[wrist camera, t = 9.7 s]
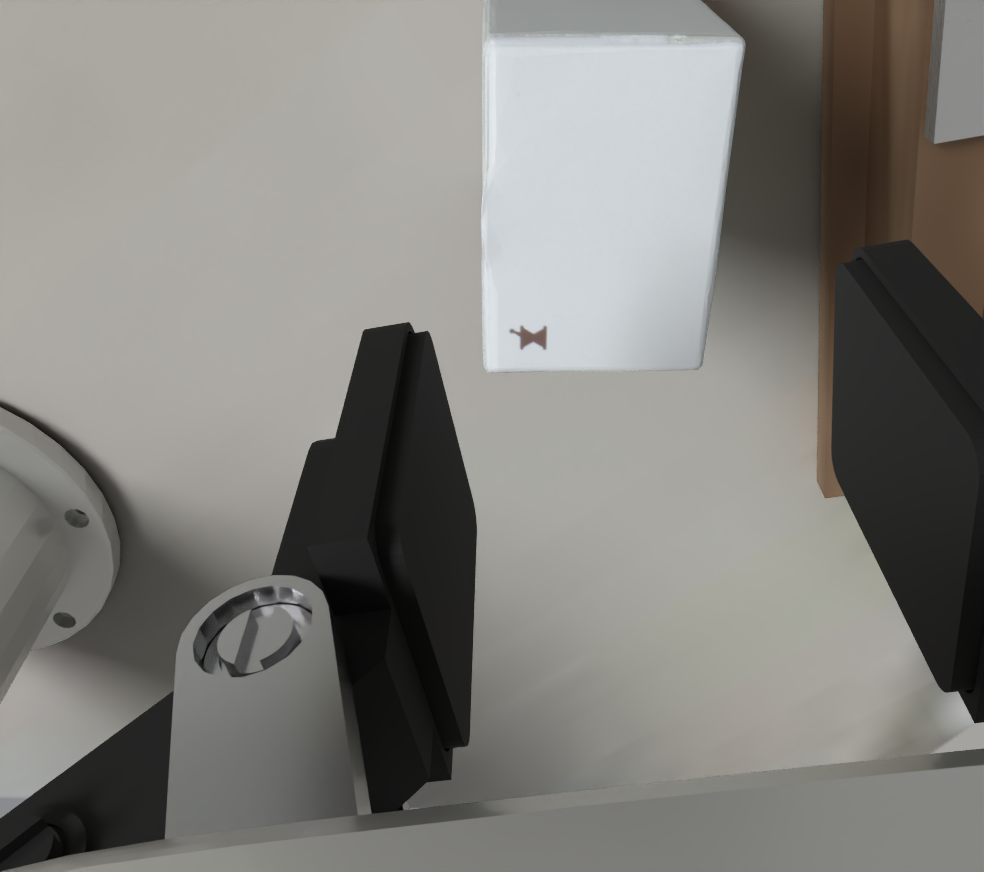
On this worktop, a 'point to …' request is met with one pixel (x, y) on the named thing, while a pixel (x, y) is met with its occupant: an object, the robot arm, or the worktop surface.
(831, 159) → the holder
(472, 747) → the worktop surface
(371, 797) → the robot arm
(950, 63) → the lid
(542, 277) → the skincare box
